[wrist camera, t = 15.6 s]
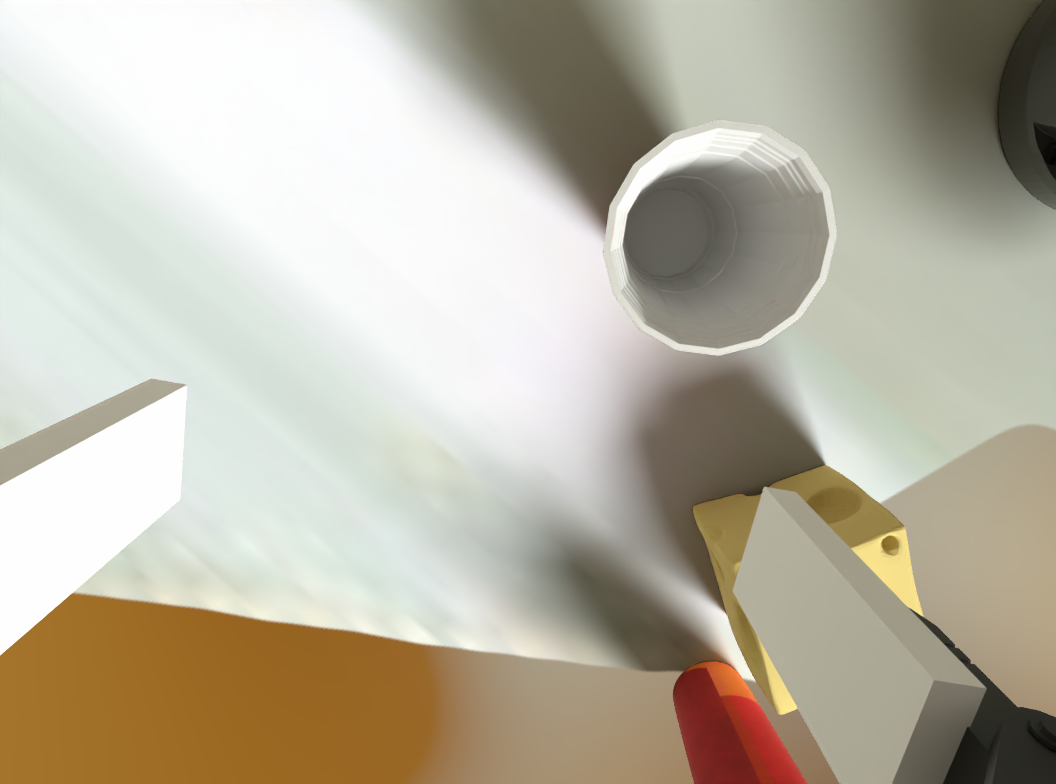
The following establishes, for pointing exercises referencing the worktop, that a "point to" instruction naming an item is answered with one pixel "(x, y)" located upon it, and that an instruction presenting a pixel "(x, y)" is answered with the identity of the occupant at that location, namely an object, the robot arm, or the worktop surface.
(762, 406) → the worktop surface
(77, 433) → the robot arm
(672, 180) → the plastic cup
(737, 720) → the paper cup
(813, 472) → the cheese
